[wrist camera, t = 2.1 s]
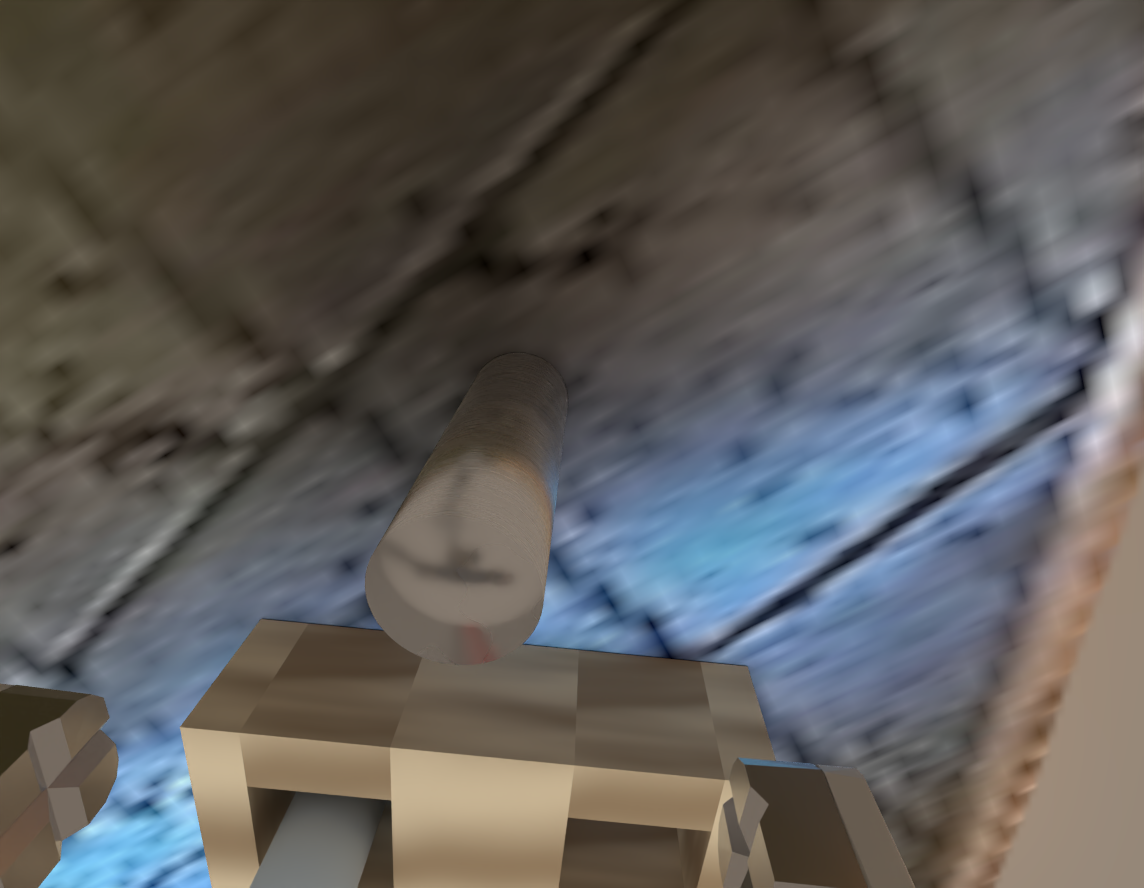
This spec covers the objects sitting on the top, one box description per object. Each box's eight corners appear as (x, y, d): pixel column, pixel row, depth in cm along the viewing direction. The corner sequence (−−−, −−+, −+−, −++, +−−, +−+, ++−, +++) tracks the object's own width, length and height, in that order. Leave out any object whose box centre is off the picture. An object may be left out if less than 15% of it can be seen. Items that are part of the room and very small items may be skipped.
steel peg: (473, 347, 19) (360, 507, 10) (572, 357, 19) (550, 526, 10) (470, 438, 21) (368, 656, 11) (563, 448, 21) (536, 672, 11)
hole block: (261, 618, 24) (179, 726, 19) (747, 666, 24) (783, 785, 19) (282, 791, 27) (217, 917, 23) (705, 832, 27) (727, 966, 23)
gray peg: (333, 687, 25) (178, 991, 16) (410, 695, 25) (301, 1003, 16) (337, 744, 26) (195, 1057, 17) (411, 751, 26) (309, 1068, 17)
